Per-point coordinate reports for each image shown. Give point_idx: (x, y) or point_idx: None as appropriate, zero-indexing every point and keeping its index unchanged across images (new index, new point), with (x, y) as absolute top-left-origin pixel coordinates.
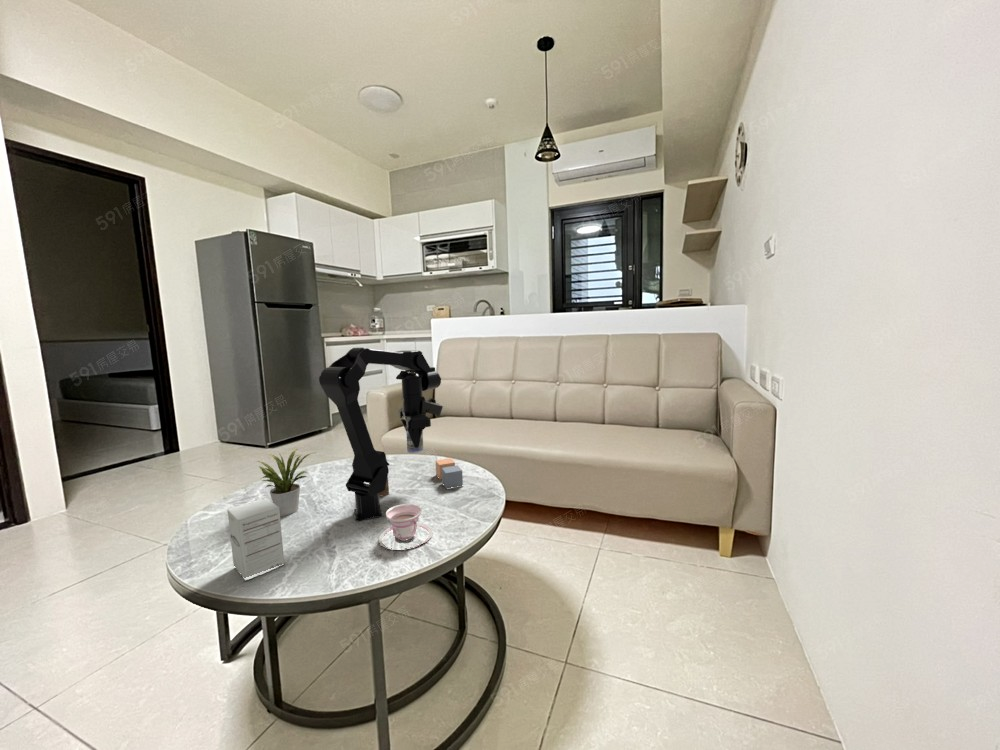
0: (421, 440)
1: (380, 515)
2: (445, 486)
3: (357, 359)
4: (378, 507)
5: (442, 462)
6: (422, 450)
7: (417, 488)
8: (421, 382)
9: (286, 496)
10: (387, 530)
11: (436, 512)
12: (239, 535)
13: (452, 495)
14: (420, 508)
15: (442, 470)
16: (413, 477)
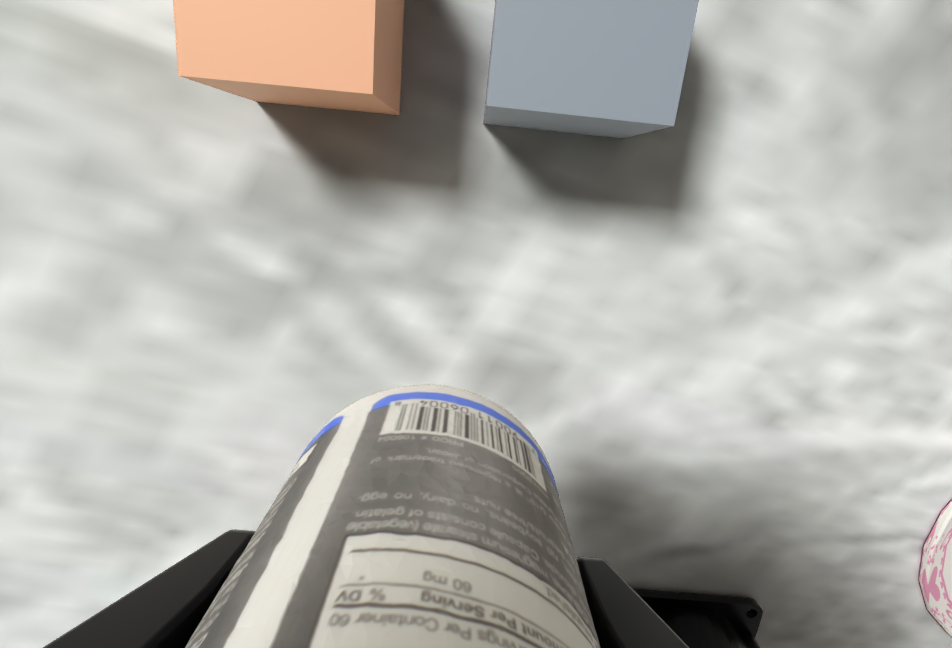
0: (567, 572)
1: (759, 610)
2: (592, 134)
3: None
4: (729, 635)
5: (301, 23)
6: (520, 424)
7: (475, 332)
8: None
9: None
10: (940, 609)
11: (929, 337)
12: None
13: (764, 141)
14: None
15: (517, 111)
16: (230, 296)
